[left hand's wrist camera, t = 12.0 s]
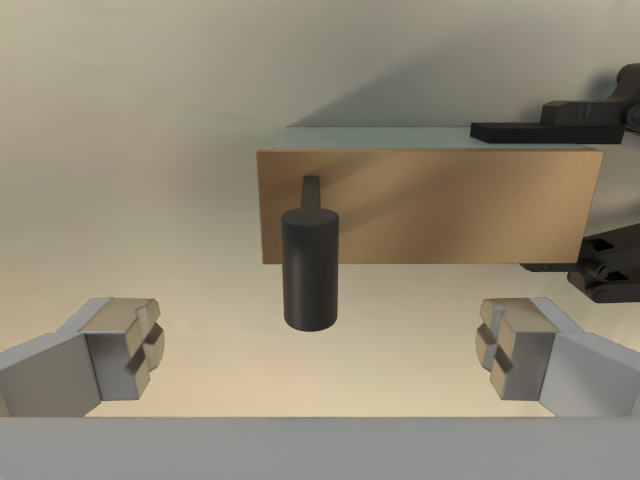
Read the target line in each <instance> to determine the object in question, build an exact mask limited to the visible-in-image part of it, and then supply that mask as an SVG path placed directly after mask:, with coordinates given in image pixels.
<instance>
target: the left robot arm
mask: <svg viewBox="0 0 640 480" xmlns="http://www.w3.org/2000/svg"><path fill="white" fill-rule="evenodd" d="M159 316H160V309H159V304H158V302H157V301H156V300H155V299H150V298H113V297H110V298H91V299H90V300H89V301H88V302H87V303H85V304H84V305H83V306H82V307H81V308H80V309H79V310H78V311H77V312H76V313H75V314H74V315H73V316H72V317H71V318H70V319H69V320H68V321H66V322H65V323H64V324H63V325H62V326H61V327H60V328H59V329H58V330H57V331H56V332H55V333H46V334H44V335H42V336H39V337H37V338H34V339H32V340H30V341H27V342H25V343H22V344H20V345H18V346H15V347H13V348H10V349H8V350H5V351H3V352H1V353H0V480H640V353H639V352H637V351H634V350H632V349H630V348H627V347H625V346H622V345H620V344H618V343H615V342H613V341H610V340H608V339H606V338H603V337H601V336H598V335H596V334H594V333H585V332H584V331H583V330H582V329H581V328H580V327H579V326H578V325H577V324H576V323H575V322H574V321H573V320H572V319H570V318H569V317H568V316H567V315H566V314H565V313H564V312H563V311H562V310H561V309H560V308H559V307H558V306H557V305H556V304H555V303H554V302H553V301H551V300H550V299H548V298H545V297H541V298H500V299H484V300H483V302H482V305H481V309H480V316H481V317H482V319H483V321H484V323H483V324H482V325H481V326H480V327H479V328H478V329H477V333H476V341H475V342H476V353H477V356H478V359H479V361H480V363H481V365H482V367H483V368H485V369H486V370H488V371H489V372H491V376H490V381H491V383H492V385H493V386H494V388H495V390H496V392H497V393H498V395H499V397H500V399H501V400H521V401H539V403H540V404H541V405H542V406H544V407H545V408H546V409H548V410H549V411H550V412H552V413H553V414H554V415H556V416H557V417H83V416H84V415H86V414H87V413H88V412H90V411H91V410H92V409H94V408H95V407H96V406H98V405H99V404H100V403H101V401H118V400H139V399H140V397H141V395H142V393H143V392H144V390H145V388H146V386H147V385H148V383H149V381H150V376H149V372H151V371H152V370H154V369H155V368H157V367H158V365H159V363H160V361H161V359H162V356H163V351H164V333H163V329H162V328H161V327H160V326H159V325H158V324H157V323H156V321H157V319H158V317H159Z"/></svg>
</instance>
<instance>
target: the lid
mask: <svg viewBox="0 0 640 480" xmlns="http://www.w3.org/2000/svg"><path fill="white" fill-rule="evenodd" d="M603 156H604V151H601V150H597V149H593V148H260V149H259V150H258V151H257V170H258V188H259V206H260V224H261V242H262V260H263V264H282V271H283V299H284V319H285V321H286V323H287V324H288V325H289V326H290V327H292V328H294V329H296V330H300V331H306V332H315V331H321V330H324V329H327V328H329V327H331V326H332V325H333V324H334V323H335V322H336V320H337V305H338V264H440V263H576V262H577V259H578V255H579V251H580V247H581V243H582V239H583V235H584V231H585V227H586V223H587V220H588V216H589V212H590V208H591V204H592V200H593V196H594V192H595V188H596V184H597V180H598V176H599V172H600V168H601V164H602V160H603Z"/></svg>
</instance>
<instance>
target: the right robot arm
mask: <svg viewBox="0 0 640 480" xmlns="http://www.w3.org/2000/svg"><path fill="white" fill-rule="evenodd" d="M617 83H618V86H617V87H616V89H615V91H614V92H613V93H612V94H611V95H610V96H609V97H608V98H606V99H604V100H598V101H552V102H549V103H547V104H544V105H543V108H542V113H541V118H540V123H471V129H470V137H472V138H475V139H478V140H480V141H483V142H486V143H488V144H621V142H622V138H623V134H624V131H626V132H629V133H633V134H636V135H639V136H640V63H639V64H628V65H626V66H624V67H623V68H622V69H621V70H620V71H619V73H618V75H617ZM519 264H520V265H521V266H522V267H523V268H524V269H526V270H529V271H532V272H542V271H543V272H549V271H550V272H569V273H568V275H567V279H568V281H569V282H570V283H571V284H572V285H574V286H575V287H576V288H577V289H578V290H580V291H581V292H582V293H583V294H585V295H586V296H587V297H589V298H590V299H591V300H592V301H594V302H595V303H623V302H640V223H639V224H635V225H631V226H627V227H623V228H619V229H615V230H611V231H607V232H603V233H599V234H595V235H591V236H587V237H583V239H582V243H581V247H580V251H579V255H578V259H577V262H576V263H519Z"/></svg>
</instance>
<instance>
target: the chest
mask: <svg viewBox="0 0 640 480" xmlns="http://www.w3.org/2000/svg"><path fill="white" fill-rule="evenodd" d="M470 129H471V127H287V128H286V129H285V131H284V132H283V134H282V136H281V138H280V139H279V141H278V143H277V144H276V146H275V148H589V147H585V146H581V145H577V144H488V143H486V142H483V141H480V140H478V139H475V138H472V137H470Z"/></svg>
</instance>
